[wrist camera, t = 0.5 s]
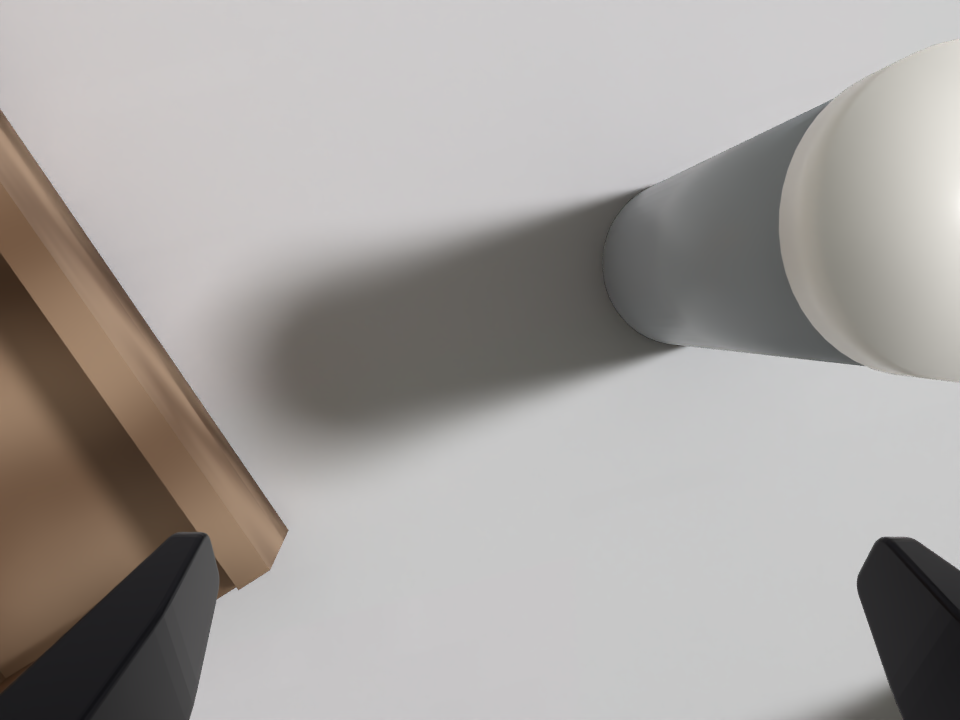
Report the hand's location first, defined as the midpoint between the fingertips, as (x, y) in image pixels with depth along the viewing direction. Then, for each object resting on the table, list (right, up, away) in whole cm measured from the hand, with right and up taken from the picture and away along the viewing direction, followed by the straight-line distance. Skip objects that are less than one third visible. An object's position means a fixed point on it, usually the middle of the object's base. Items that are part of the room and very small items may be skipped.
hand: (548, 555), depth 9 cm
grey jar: (+6, +6, +14) cm, 17 cm away
